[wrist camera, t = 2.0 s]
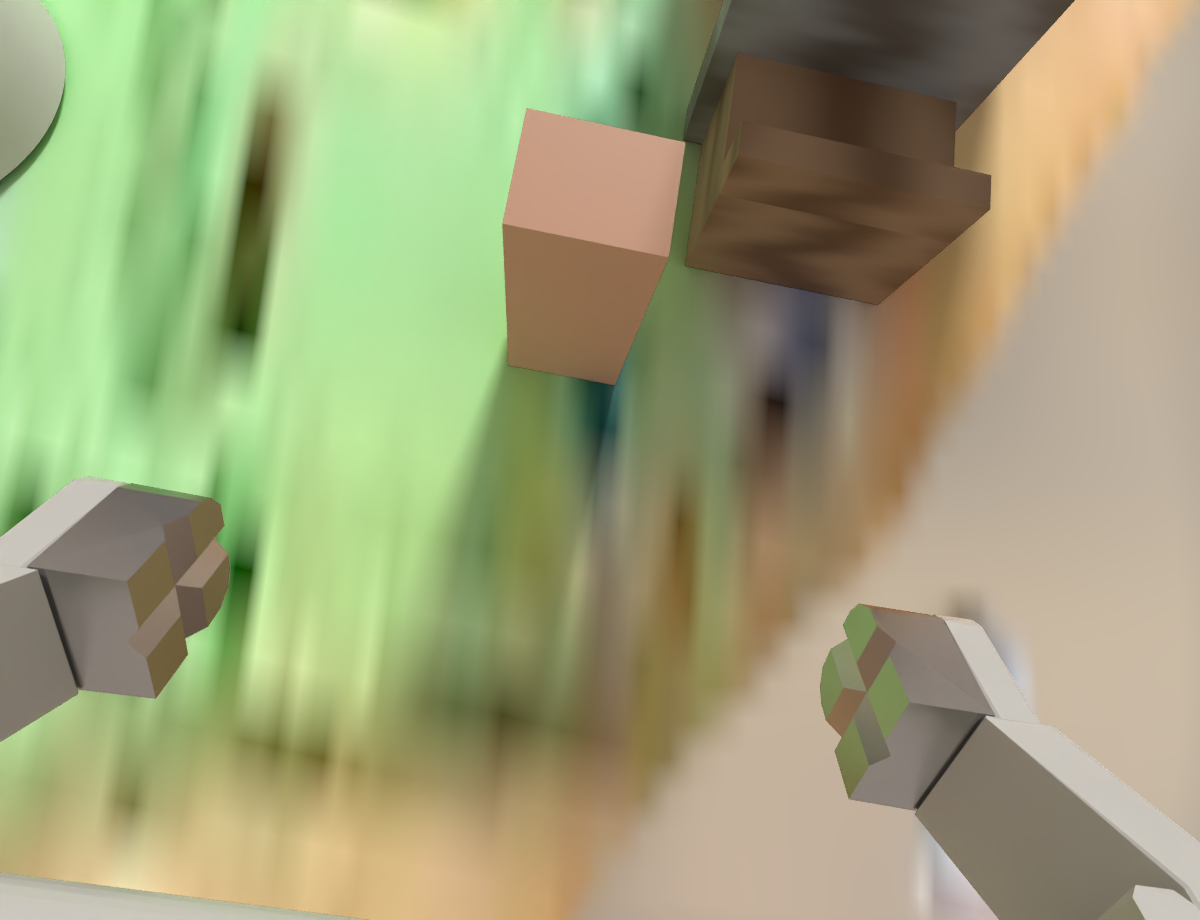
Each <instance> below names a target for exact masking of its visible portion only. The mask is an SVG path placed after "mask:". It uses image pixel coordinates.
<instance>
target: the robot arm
mask: <svg viewBox="0 0 1200 920" xmlns="http://www.w3.org/2000/svg"><path fill="white" fill-rule="evenodd" d="M64 82H65V56H64V49H63V45H62V41H61V38H60V34H59V32H58V29H57V27H56V25H55V23H54V21H53V19H52V17H51V15H50V14H49V12H48V11H47V9H46V8H45V6H44V5H43V4H42V3H41V1H40V0H0V180H1V179H2V178H3V177H5V176H6V175H7V174H9V173H10V172H11V171H12V170H13V169H15V168H16V167H17V166H18V165H19V164H20V163H21V162H22V161H23V160H24V159H25V158H26V157H27V156H28V155H29V154H30V153H31V152H32V150H33V149H34V148H35V147H36V146H37V144H38V143H39V142H40V140H41V139H42V138H43V136H44V134H45V133H46V131H47V130H48V128H49V126H50V124H51V123H52V121H53V119H54V116H55V114H56V112H57V110H58V107H59V104H60V101H61V97H62V93H63V88H64ZM223 527H224V520H223V515H222V510H221V504H219V503H218V502H216V501H215V500H214V499H212V498H208V497H203V496H197V495H192V494H187V493H181V492H176V491H170V490H165V489H160V488H154V487H149V486H143V485H138V484H133V483H131V484H127V483H124V482H118V481H113V480H107V479H102V478H96V477H91V476H88V477H83V478H79V479H74V480H73V481H72V482H70V483H69V484H68V485H67V486H65V487H64V488H63V489H62V490H60V491H59V492H58V493H56V494H55V495H54V496H53V497H51V498H50V499H49V500H47V501H46V502H45V503H44V504H42V505H41V506H40V507H39V508H37V509H36V510H35V511H33V512H32V513H31V514H30V515H28V516H27V517H26V518H24V519H23V520H22V521H21V522H19V523H18V524H17V525H16V526H14V527H13V528H12V529H10V530H9V531H8V532H7V533H5V534H4V535H3V536H1V537H0V742H1V741H3V740H4V739H6V738H8V737H9V736H11V735H12V734H14V733H16V732H17V731H19V730H21V729H22V728H24V727H25V726H27V725H29V724H30V723H32V722H34V721H35V720H37V719H38V718H40V717H42V716H43V715H45V714H47V713H48V712H50V711H51V710H53V709H55V708H56V707H58V706H60V705H61V704H63V703H64V702H66V701H68V700H69V699H71V698H72V697H74V696H76V695H77V694H78V690H85V691H94V692H102V693H111V694H120V695H128V696H137V697H145V698H154V699H156V698H157V696H158V695H159V694H160V692H161V691H162V690H163V688H164V687H165V685H166V684H167V683H168V681H169V680H170V679H171V677H172V676H173V674H174V673H175V672H176V670H177V669H178V668H179V666H180V665H181V663H182V662H183V661H184V659H185V658H186V656H187V655H188V652H187V646H186V641H185V638H187V637H189V636H191V635H193V634H195V633H197V632H198V631H200V630H202V629H204V628H206V627H208V626H209V624H210V623H211V621H212V620H213V619H214V617H215V616H216V614H217V613H218V611H219V610H220V608H221V605H222V603H223V600H224V597H225V595H226V592H227V589H228V586H229V576H230V563H229V554H228V553H227V552H226V550H225V549H224V548H223V547H222V546H221V545H220V544H219V543H218V542H217V540H216V539H215V537H216V536H217V534H218V533H219V532H220V531H221V529H222V528H223ZM843 626H844V629H845V632H846V635H847V638H848V639H847V640H845V641H844V642H842V643H840V644H838V645H837V646H835V647H833V648H832V649H831V650H830V652H829V654H828V657H827V659H826V661H825V663H824V665H823V669H822V677H821V684H820V693H821V704H822V708H823V711H824V715H825V719H826V721H827V722H828V723H829V724H830V725H831V726H832V727H833V728H834V729H835V730H836V731H837V733H838V734H839V735H840V736H841V737H842V738H841V740H840V742H839V744H838V746H837V747H836V749H835V754H836V757H837V761H838V764H839V767H840V771H841V774H842V777H843V781H844V784H845V788H846V791H847V794H848V798H849V799H851V800H856V801H862V802H868V803H874V804H880V805H885V806H891V807H897V808H902V809H908V810H914V811H916V813H915V815H916V816H917V818H918V819H919V820H920V821H921V823H922V824H923V825H924V826H925V828H926V829H927V830H928V831H929V833H930V834H931V835H932V836H933V838H934V839H935V840H936V841H937V843H938V844H939V845H940V846H941V848H942V849H943V850H944V851H945V853H946V854H947V855H948V856H949V858H950V859H951V860H952V861H953V863H954V864H955V865H956V866H957V868H958V869H959V870H960V871H961V873H962V874H963V875H964V876H965V878H966V879H967V880H968V881H969V883H970V884H971V885H972V886H973V888H974V889H975V890H976V891H977V893H978V894H979V895H980V896H981V898H982V899H983V900H984V901H985V903H986V904H987V905H988V906H989V908H990V909H991V910H992V911H993V913H994V914H995V915H996V916H997V918H998V919H999V920H1200V843H1199V842H1198V841H1197V840H1195V839H1194V838H1193V837H1192V836H1191V835H1189V834H1188V833H1187V832H1186V831H1184V830H1183V829H1182V828H1181V827H1179V826H1178V825H1177V824H1175V823H1174V822H1173V821H1172V820H1170V819H1169V818H1168V817H1167V816H1165V815H1164V814H1163V813H1162V812H1160V811H1159V810H1158V809H1157V808H1155V807H1154V806H1153V805H1151V804H1150V803H1149V802H1148V801H1146V800H1145V799H1144V798H1143V797H1141V796H1140V795H1139V794H1138V793H1136V792H1135V791H1134V790H1133V789H1131V788H1130V787H1129V786H1128V785H1126V784H1125V783H1124V782H1122V781H1121V780H1120V779H1118V778H1117V777H1116V776H1115V775H1114V774H1112V773H1111V772H1110V771H1108V770H1107V769H1106V768H1105V767H1103V766H1102V765H1101V764H1100V763H1098V762H1097V761H1096V760H1095V759H1093V758H1092V757H1091V756H1090V755H1088V754H1087V753H1086V752H1085V751H1083V750H1082V749H1081V748H1080V747H1078V746H1077V745H1076V744H1075V743H1073V742H1072V741H1070V740H1069V739H1068V738H1067V737H1066V736H1064V735H1063V734H1062V733H1061V732H1059V731H1058V730H1057V729H1056V728H1054V727H1053V726H1047V725H1041V724H1040V722H1039V721H1038V719H1037V717H1036V716H1035V714H1034V712H1033V711H1032V709H1031V707H1030V706H1029V704H1028V703H1027V701H1026V699H1025V698H1024V696H1023V694H1022V693H1021V691H1020V689H1019V688H1018V686H1017V684H1016V683H1015V681H1014V679H1013V678H1012V676H1011V674H1010V673H1009V671H1008V669H1007V668H1006V666H1005V664H1004V663H1003V661H1002V659H1001V658H1000V656H999V654H998V653H997V651H996V650H995V648H994V646H993V645H992V643H991V641H990V640H989V638H988V636H987V635H986V633H985V631H984V630H983V628H982V627H981V626H980V625H978V624H977V623H976V622H974V621H973V620H970V619H963V618H955V617H948V616H941V615H928V614H922V613H915V612H909V611H902V610H896V609H890V608H883V607H877V606H871V605H864V604H858V605H857V606H856V607H854V608H853V609H852V610H851V611H850V613H849V615H848V616H847V618H846V620H845V622H844V624H843ZM0 920H368V919H360V918H352V917H345V916H337V915H329V914H321V913H313V912H305V911H298V910H290V909H282V908H274V907H266V906H259V905H251V904H243V903H235V902H227V901H220V900H212V899H204V898H196V897H188V896H181V895H173V894H165V893H157V892H149V891H141V890H134V889H126V888H118V887H110V886H102V885H95V884H87V883H79V882H71V881H63V880H56V879H48V878H40V877H32V876H24V875H17V874H9V873H1V872H0Z"/></svg>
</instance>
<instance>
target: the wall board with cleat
mask: <svg viewBox="0 0 1200 920" xmlns="http://www.w3.org/2000/svg"><path fill="white" fill-rule="evenodd" d="M1074 1H1075V0H724V1H723V4H722V7H721V10H720V13H719V16H718V19H717V22H716V25H715V28H714V31H713V34H712V37H711V40H710V43H709V46H708V49H707V52H706V55H705V58H704V61H703V64H702V66H701V69H700V72H699V75H698V78H697V81H696V84H695V87H694V90H693V93H692V96H691V99H690V102H689V105H688V110H687V117H686V123H685V130H684V137H683V140H685V141H690V142H695V143H699V144H702V147H701V154H700V161H699V169H698V176H697V183H696V190H695V197H694V204H693V212H692V219H691V226H690V233H689V240H688V247H687V255H686V262H685V266H688V267H693V268H698V269H703V270H708V271H713V272H718V273H723V274H728V275H733V276H737V277H742V278H747V279H752V280H757V281H762V282H767V283H772V284H777V285H782V286H787V287H792V288H797V289H802V290H807V291H812V292H817V293H822V294H827V295H831V296H836V297H841V298H846V299H851V300H856V301H861V302H866V303H871V304H876V305H878V304H880V303H881V302H882V301H883V300H884V299H886V298H887V297H888V296H889V295H890V294H891V293H893V292H894V291H895V290H896V289H897V288H898V287H900V286H901V285H902V284H903V283H904V282H905V281H907V280H908V279H909V278H910V277H911V276H913V275H914V274H915V273H916V272H917V271H918V270H920V269H921V268H922V267H923V266H924V265H925V264H927V263H928V262H929V261H930V260H931V259H932V258H934V257H935V256H936V255H937V254H938V253H940V252H941V251H942V250H943V249H944V248H945V247H947V246H948V245H949V244H950V243H951V242H952V241H954V240H955V239H956V238H957V237H958V236H959V235H961V234H962V233H963V232H964V231H965V230H967V229H968V228H969V227H970V226H971V225H972V224H974V223H975V222H976V221H977V220H978V219H979V218H981V217H982V216H983V215H984V214H985V213H986V212H988V211H989V210H990V197H991V175H987V174H982V173H978V172H973V171H969V170H964V169H960V168H955V167H954V147H955V131H956V130H957V129H958V128H959V127H960V126H961V125H962V124H963V123H964V122H965V120H966V119H967V118H968V117H969V116H970V115H971V114H972V113H973V112H974V111H975V109H976V108H977V107H978V106H979V105H980V104H981V103H982V102H983V101H984V100H985V98H986V97H987V96H988V95H989V94H990V93H991V92H992V91H993V90H994V89H995V87H996V86H997V85H998V84H999V83H1000V82H1001V81H1002V80H1003V79H1004V78H1005V77H1006V75H1007V74H1008V73H1009V72H1010V71H1011V70H1012V69H1013V68H1014V67H1015V66H1016V64H1017V63H1018V62H1019V61H1020V60H1021V59H1022V58H1023V57H1024V56H1025V55H1026V53H1027V52H1028V51H1029V50H1030V49H1031V48H1032V47H1033V46H1034V45H1035V44H1036V42H1037V41H1038V40H1039V39H1040V38H1041V37H1042V36H1043V35H1044V34H1045V33H1046V31H1047V30H1048V29H1049V28H1050V27H1051V26H1052V25H1053V24H1054V23H1055V22H1056V21H1057V19H1058V18H1059V17H1060V16H1061V15H1062V14H1063V13H1064V12H1065V11H1066V10H1067V8H1068V7H1069V6H1070V5H1071V4H1072V3H1073V2H1074Z"/></svg>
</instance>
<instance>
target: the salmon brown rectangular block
mask: <svg viewBox="0 0 1200 920" xmlns="http://www.w3.org/2000/svg"><path fill="white" fill-rule="evenodd" d="M685 143H686V142H681V141H676V140H672V139H667V138H663V137H658V136H653V135H649V134H644V133H639V132H635V131H630V130H626V129H621V128H616V127H612V126H607V125H603V124H598V123H593V122H589V121H584V120H579V119H575V118H570V117H566V116H561V115H556V114H552V113H547V112H542V111H538V110H533V109H529V108H527V109H526V114H525V119H524V123H523V128H522V133H521V138H520V142H519V147H518V152H517V157H516V161H515V166H514V171H513V176H512V180H511V185H510V190H509V195H508V199H507V204H506V209H505V214H504V218H503V223H502V225H503V248H504V271H505V294H506V317H507V339H508V362H509V366H515V367H520V368H525V369H531V370H536V371H541V372H547V373H552V374H557V375H563V376H568V377H574V378H579V379H584V380H590V381H595V382H600V383H606V384H611V385H615V383H616V381H617V379H618V376H619V374H620V372H621V369H622V367H623V364H624V362H625V360H626V357H627V355H628V353H629V350H630V348H631V346H632V343H633V341H634V338H635V336H636V334H637V331H638V329H639V327H640V324H641V322H642V320H643V317H644V315H645V312H646V310H647V308H648V305H649V303H650V301H651V298H652V296H653V294H654V291H655V289H656V286H657V284H658V282H659V279H660V277H661V275H662V272H663V270H664V268H665V265H666V263H667V260H668V258H669V253H670V246H671V239H672V232H673V225H674V219H675V212H676V205H677V198H678V191H679V184H680V177H681V171H682V164H683V157H684V150H685Z"/></svg>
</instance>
